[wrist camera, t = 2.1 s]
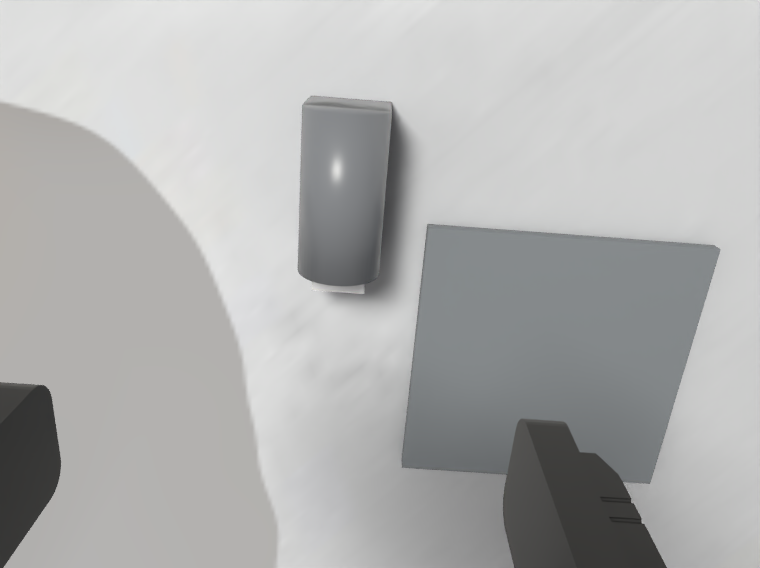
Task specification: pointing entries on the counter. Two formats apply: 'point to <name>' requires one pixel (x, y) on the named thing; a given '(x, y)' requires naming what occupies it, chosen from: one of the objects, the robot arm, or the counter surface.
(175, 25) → the counter surface
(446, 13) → the counter surface
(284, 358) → the counter surface
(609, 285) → the slate mat
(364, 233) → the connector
